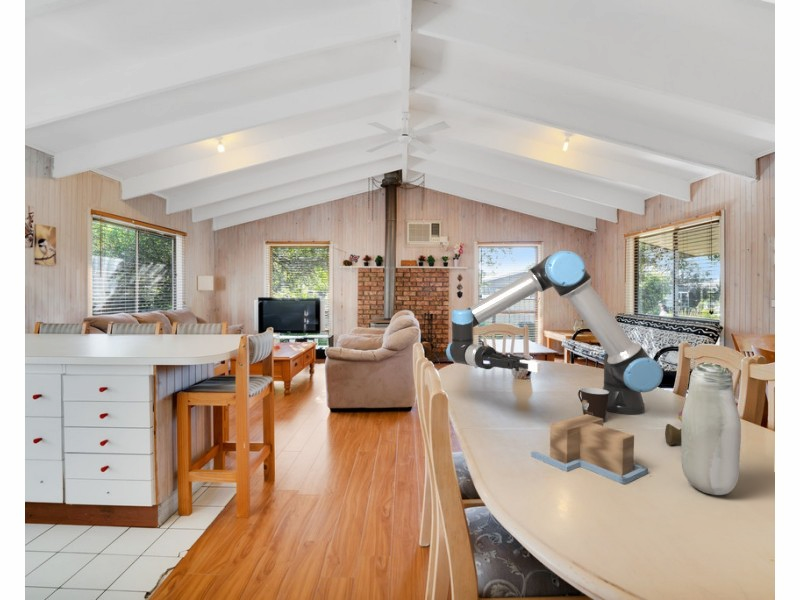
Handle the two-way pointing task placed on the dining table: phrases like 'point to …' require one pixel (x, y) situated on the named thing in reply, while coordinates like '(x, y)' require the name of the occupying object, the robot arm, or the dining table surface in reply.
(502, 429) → the dining table surface
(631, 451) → the t block
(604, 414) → the coffee mug
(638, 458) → the dining table surface
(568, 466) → the t outline
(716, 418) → the glass bottle
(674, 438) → the kendama
